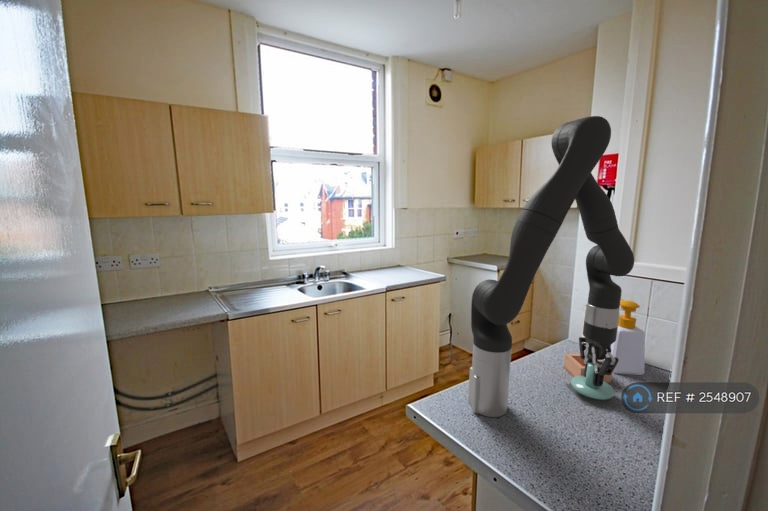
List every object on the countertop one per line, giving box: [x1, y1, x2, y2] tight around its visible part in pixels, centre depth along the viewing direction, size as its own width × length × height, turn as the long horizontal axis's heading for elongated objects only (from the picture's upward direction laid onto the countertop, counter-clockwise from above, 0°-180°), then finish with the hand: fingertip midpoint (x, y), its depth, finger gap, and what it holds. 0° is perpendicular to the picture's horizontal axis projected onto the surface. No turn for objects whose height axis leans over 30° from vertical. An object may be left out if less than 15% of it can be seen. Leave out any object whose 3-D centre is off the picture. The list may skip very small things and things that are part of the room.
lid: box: [570, 362, 615, 400], centre depth 92 cm, size 10×10×7 cm
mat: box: [564, 383, 624, 407], centre depth 93 cm, size 10×10×1 cm
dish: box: [563, 353, 613, 384], centre depth 102 cm, size 9×9×5 cm
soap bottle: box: [602, 298, 646, 376], centre depth 108 cm, size 10×14×22 cm
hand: (592, 381), depth 92 cm, fingers closed on lid, 3 cm apart
